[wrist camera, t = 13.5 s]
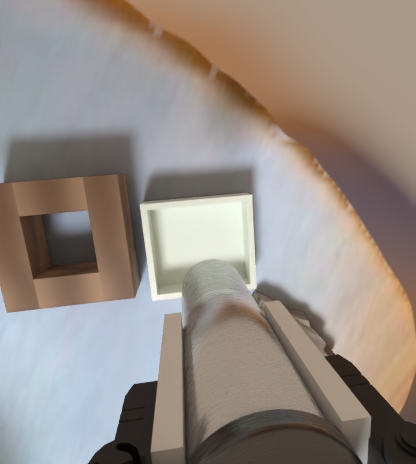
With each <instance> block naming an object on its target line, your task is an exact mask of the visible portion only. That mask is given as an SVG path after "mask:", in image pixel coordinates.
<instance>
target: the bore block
mask: <svg viewBox="0 0 416 464" xmlns="http://www.w3.org/2000/svg"><path fill="white" fill-rule="evenodd" d="M86 210H88V212H89V218H90V224H91V230H92V236H93V242H94V247H95V253H96V259H97V261H94V262H85V263H75V264H65V265H56V266H52V263H51V258H50V254H49V249H48V244H47V239H46V234H45V229H44V225H43V220H42V215H41V214H52V213H64V212H75V211H86ZM139 285H140V277H139V270H138V263H137V255H136V248H135V241H134V234H133V227H132V219H131V212H130V205H129V198H128V191H127V183H126V176H125V174H111V175H99V176H86V177H74V178H61V179H49V180H36V181H24V182H11V183H0V287H1V291H2V295H3V299H4V303H5V307H6V311H7V313H9V312H17V311H26V310H35V309H43V308H52V307H60V306H69V305H78V304H86V303H95V302H104V301H112V300H121V299H129V298H135V296H136V293H137V290H138V288H139Z"/></svg>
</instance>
